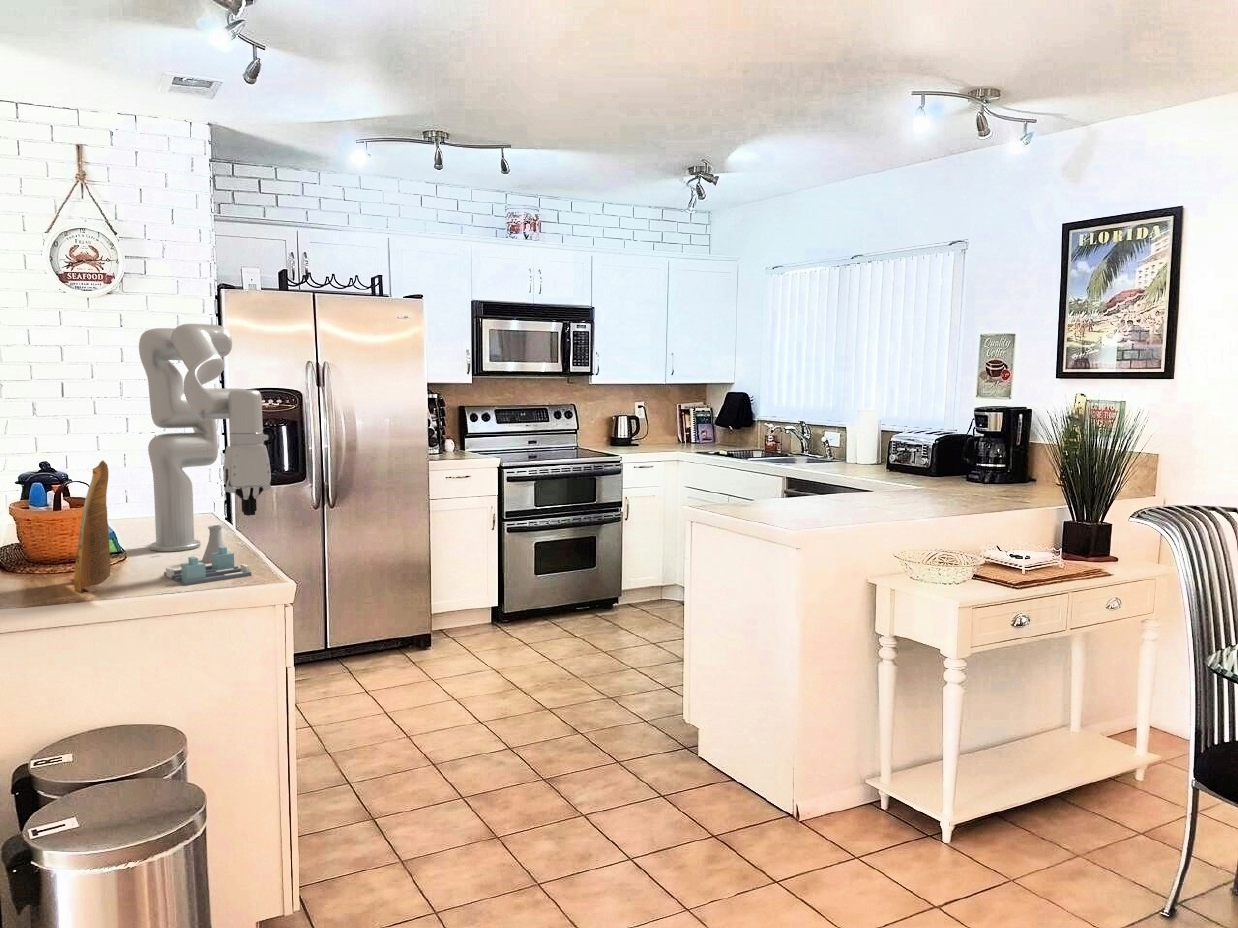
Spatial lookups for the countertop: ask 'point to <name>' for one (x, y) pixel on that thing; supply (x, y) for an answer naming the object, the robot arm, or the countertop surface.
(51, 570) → the countertop surface
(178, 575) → the switch bank
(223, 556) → the tab
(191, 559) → the tab
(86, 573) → the pancake mix bag
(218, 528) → the flask
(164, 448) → the robot arm
